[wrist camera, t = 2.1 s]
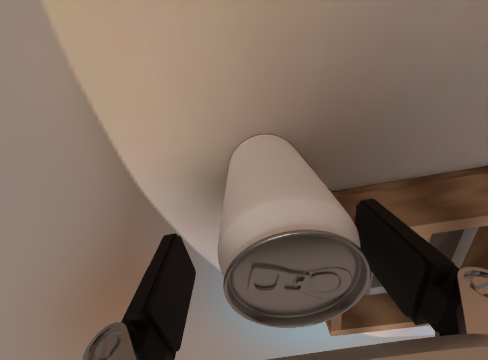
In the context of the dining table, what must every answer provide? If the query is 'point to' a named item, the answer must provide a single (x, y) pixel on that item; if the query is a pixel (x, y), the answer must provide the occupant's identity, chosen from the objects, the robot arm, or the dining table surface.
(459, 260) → the bin
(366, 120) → the dining table surface
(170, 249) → the robot arm
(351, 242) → the can
